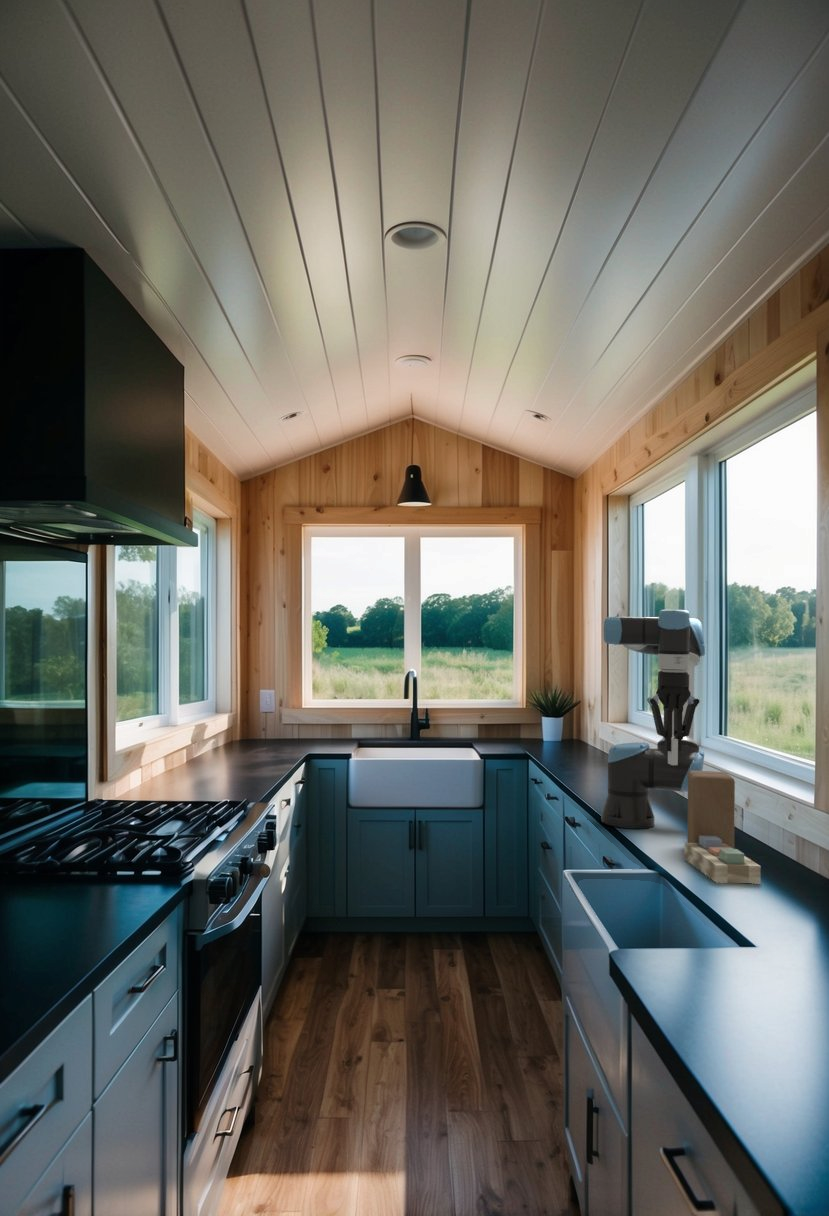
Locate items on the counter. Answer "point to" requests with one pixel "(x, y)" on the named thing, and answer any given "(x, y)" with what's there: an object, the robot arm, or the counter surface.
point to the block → (711, 806)
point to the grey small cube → (709, 842)
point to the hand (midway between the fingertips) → (672, 764)
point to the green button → (731, 856)
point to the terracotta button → (715, 850)
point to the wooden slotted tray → (722, 866)
